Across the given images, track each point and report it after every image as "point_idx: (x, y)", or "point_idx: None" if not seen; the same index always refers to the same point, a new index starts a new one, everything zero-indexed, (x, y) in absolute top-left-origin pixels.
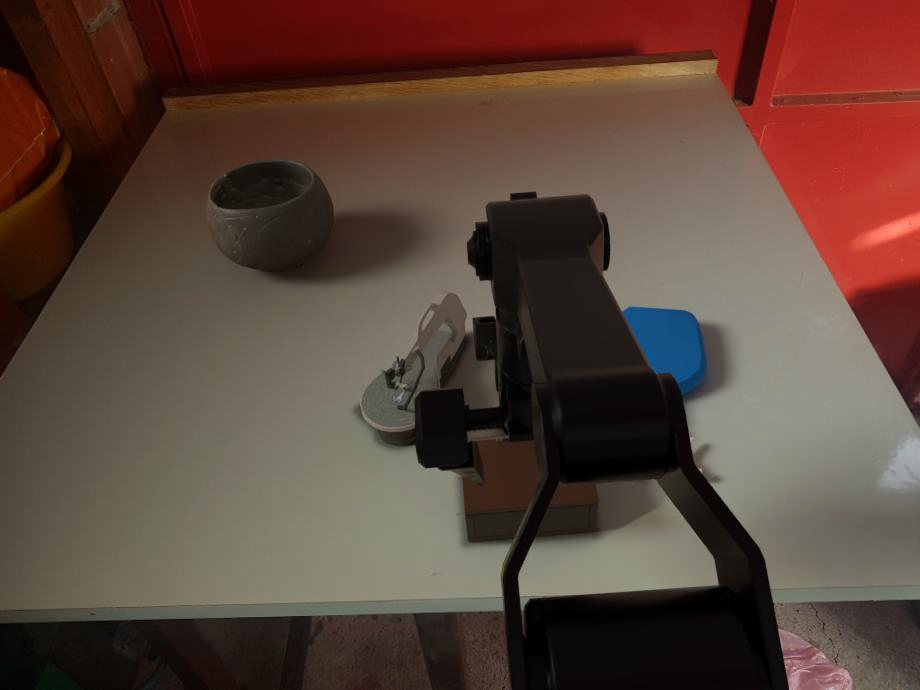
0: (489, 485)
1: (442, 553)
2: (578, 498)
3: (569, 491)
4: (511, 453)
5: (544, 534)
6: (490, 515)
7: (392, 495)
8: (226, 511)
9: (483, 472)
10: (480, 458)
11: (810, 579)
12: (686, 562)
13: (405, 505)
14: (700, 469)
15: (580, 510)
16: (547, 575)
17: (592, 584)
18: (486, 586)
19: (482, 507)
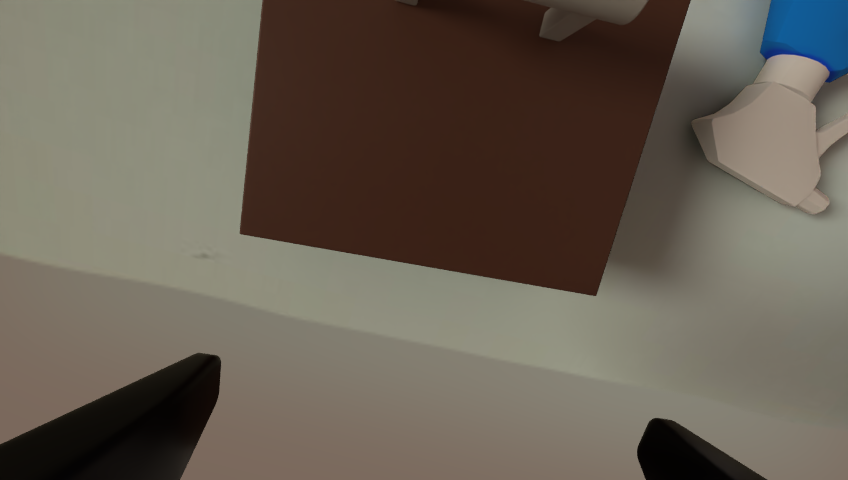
0: (329, 168)
1: (225, 216)
2: (550, 277)
3: (538, 251)
4: (428, 68)
5: None
6: None
7: (112, 20)
8: None
9: (177, 446)
10: (115, 477)
11: (811, 417)
12: (660, 350)
13: (147, 64)
14: (826, 203)
15: None
16: (421, 313)
17: (491, 348)
18: (303, 306)
19: (292, 234)
